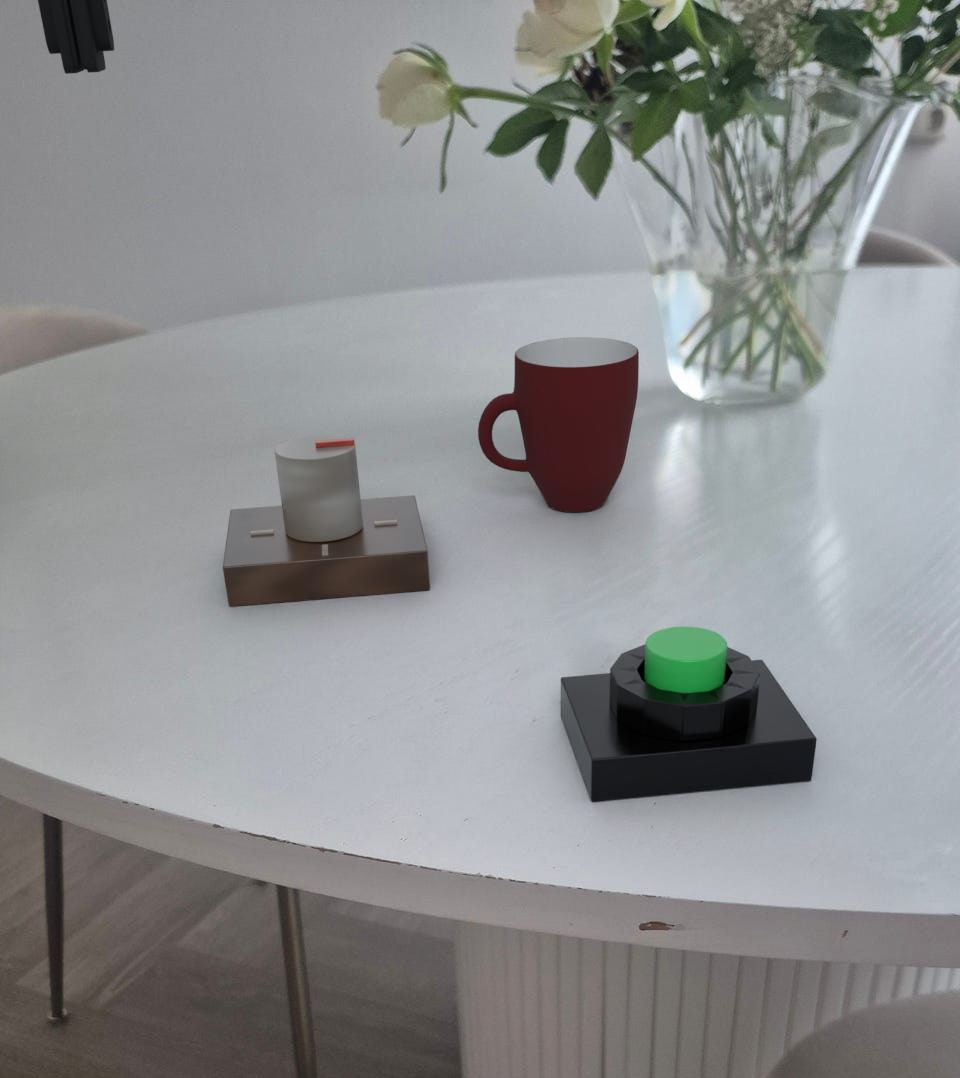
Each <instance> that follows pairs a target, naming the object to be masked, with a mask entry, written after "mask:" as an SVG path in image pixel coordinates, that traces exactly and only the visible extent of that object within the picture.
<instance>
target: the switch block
mask: <svg viewBox="0 0 960 1078" xmlns="http://www.w3.org/2000/svg"><path fill="white" fill-rule="evenodd" d="M766 664H767V663H765V662H764V660H763V659H754V660H753V659H751V657H750V656H748V655H746V654H745V653H742V652H740V651H738V650H736V649H733V648H732V647H729V646H727V655H726V668H725V680H724V683H723V684H722V686H719V687H717V688H715V689H712V690H710V691H704V692H693V693H681V692H674V691H668V690H661V689H658V688H656V687H654V686H652V685H650V684H648V683H646V681H645V678H644V670H645V644H642V645H639V646H637V647H635V648H633V649H629V650H626V651H624V652H622V653H621V654H620V655H619V656H618V657H617V659H616V660H615V662H614V663H613V664H612V665H611V667H610V669H609V672H607V673H605V672H604V673H596V674H595V673H594V674H583V675H572V676H563V677H561V678H560V718H561V721H562V724H563V727H564V729H565V732H566V736H567V738H568V741H569V744H570V746H571V748H572V751H573V754H574V757H575V760H576V763H577V765H578V768H579V771H580V774H581V776H582V780H583V782H584V786H585V787H586V790H587V793H588V796H589V799H590V801H591V802H592V803H596V802H605V801H606V802H607V801H616V800H617V801H618V800H627V799H637V798H638V799H639V798H647V797H657V796H667V795H669V796H670V795H678V794H688V793H689V794H690V793H699V792H708V791H709V792H710V791H720V790H730V789H740V788H750V787H751V788H752V787H761V786H770V785H771V786H772V785H782V784H792V783H805V782H811V781H812V779H813V771H814V763H815V757H816V756H815V755H816V747H817V741H818V739H817V737H816V735H815V734H814V732H813V731H812V730H811V728H810V726H809V725H808V724H807V723H806V721H805V720H804V718H803V717H802V715H801V713H800V712H799V710H798V709H797V708H796V706H795V705H794V704H793V702H792V701H791V699H790V698H789V696H788V695H787V694H786V692H785V691H784V689H783V688H782V686H781V685H780V684H779V682H778V680H777V679H776V677H775V676H774V674H773V673H772V672H771V670H770V669H769V667H768V666H767V665H766Z"/></svg>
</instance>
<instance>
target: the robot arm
mask: <svg viewBox="0 0 960 1078" xmlns="http://www.w3.org/2000/svg"><path fill="white" fill-rule="evenodd" d="M37 3H38V8H39V13H40V19H41V23H42V29H43V33H44V39H45V43H46V48H47V51H48V53H49V54H50V55H55V54H57V55H58V54H60V57H61V58H60V59H61V62H62V68H63V71H64V74H66V75H68V74H78V73H80V72H84V71H87V73H101V72H102V71H105V70H106V60H105V53H104V52H113V51H115V42H114V35H113V29H112V28H113V27H112V22H111V18H110V17H111V16H110V11H109V5H108V0H37Z"/></svg>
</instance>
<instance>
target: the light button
mask: <svg viewBox="0 0 960 1078" xmlns="http://www.w3.org/2000/svg"><path fill="white" fill-rule="evenodd" d="M644 645H645V670H644V678H645V681H646V683H648V684H650V685H652V686H654V687H656V688H658V689H661V690H668V691H674V692H681V693H693V692H704V691H710V690H712V689H715V688H717V687H719V686H722V684H723V683H724V680H725V668H726V655H727V647H728V642H727V640H726V638H725V637H723V636H722V635H720V634H719V633H717V632H715V631H713V630H710V629H707V628H702V627H697V626H672V627H665V628H662V629H660V630H657V631H655V632H653V633H651V634H650V635H649V636H648V637H647V638H646V640H645V643H644Z"/></svg>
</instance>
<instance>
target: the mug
mask: <svg viewBox="0 0 960 1078" xmlns="http://www.w3.org/2000/svg"><path fill="white" fill-rule="evenodd" d="M639 354H640V353H639V349H638V348H637V347H636V346H635V345H634V344H632V343H629V342H626V341H622V340H618V339H613V338H606V337H605V338H604V337H589V336H586V337H582V336H580V337H562V338H561V337H560V338H553V339H552V338H551V339H546V340H545V339H544V340H541V341H535V342H532V343H528V344H526V345H523V346H521V347H519V348H518V349H517V350H516V351H515V353H514V378H513V379H514V381H513V392H511V393H503V394H500V395H497V396H496V397H494V398H493V399H491V400H490V401H489V402H488V404H487V405H486V407H485V408H484V410H483V411H482V413H481V415H480V419H479V422H478V428H477V439H478V442H479V446H480V449H481V451H482V453H483V455H484V457H485V458H486V459H488V460H489V462H490V463H492V464H493V465H494V466H496V467H499V468H501V469H504V470H507V471H513V472H518V473H519V472H520V473H528V474H529V475H530V476H531V478H532V480H533V482H534V483H535V485H536V487H537V489H538V490H539V493H540V494H541V496H542V498H543V499H544V501H545V503H546V504H547V505H548V507H549V508H551V509H552V510H555V511H559V512H564V513H585V512H591V511H594V510H597V509H599V508H601V507H602V506H604V505H605V503H606V502H607V500H608V498H609V496H610V494H611V492H612V491H613V489H614V487H615V485H616V483H617V481H618V479H619V477H620V475H621V473H622V471H623V468H624V464H625V461H626V457H627V452H628V447H629V446H628V445H629V440H630V436H631V432H632V431H631V430H632V427H633V421H634V416H635V410H636V406H637V400H638V391H639V370H640V369H639V366H640V365H639V362H640V359H639V358H640V357H639V356H640V355H639ZM509 411H516V413H517V417H518V422H519V426H520V432H521V437H522V442H523V448H524V453H525V459H518V458H517V459H516V458H511V457H507V456H505V455H503V454H502V453H501V452H499V450H498V449H497V448H496V446H495V444H494V440H493V439H494V438H493V429H494V425H495V423H496V421H497V419H498V418H499V417H500V415H501V414H503V413H505V412H509Z"/></svg>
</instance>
